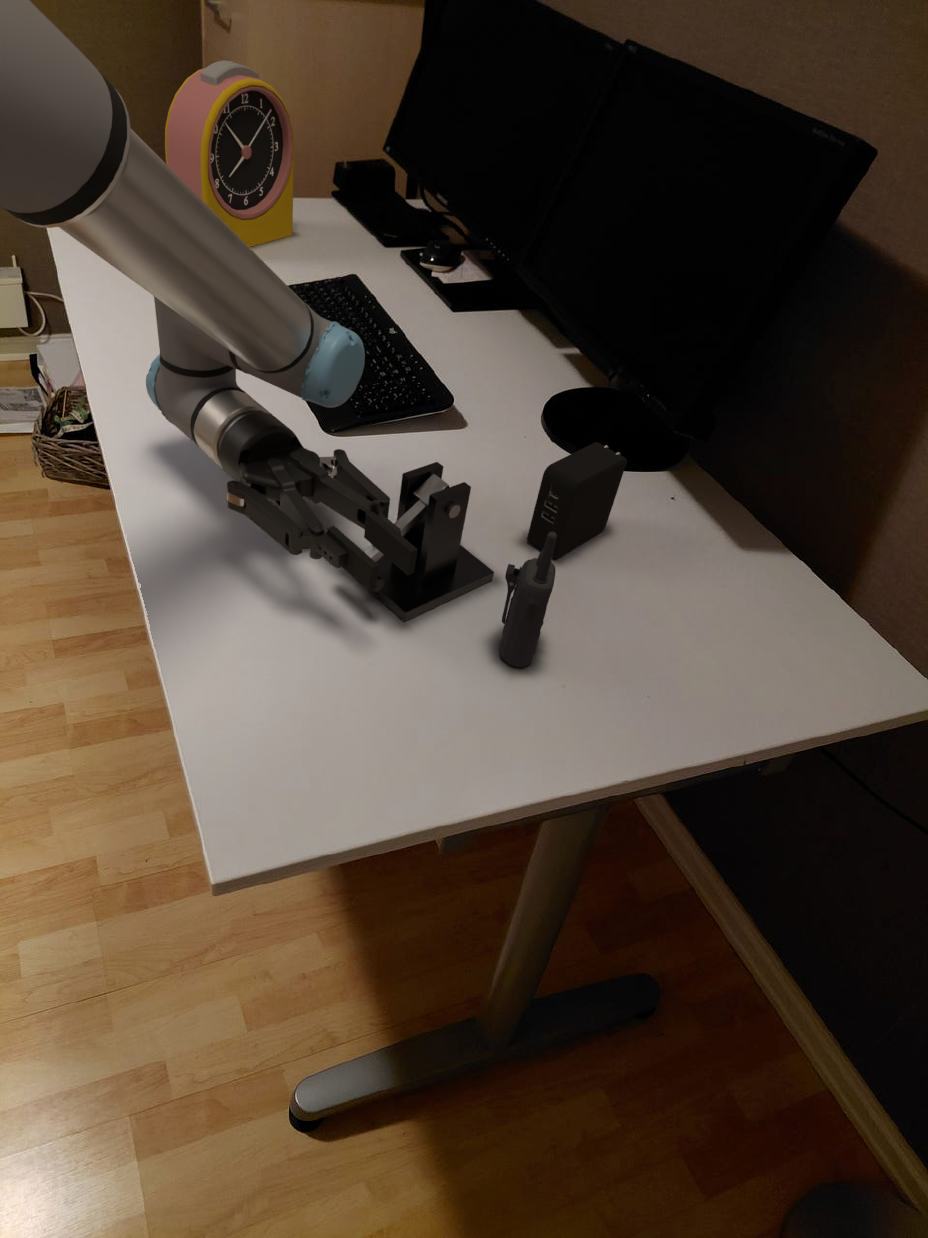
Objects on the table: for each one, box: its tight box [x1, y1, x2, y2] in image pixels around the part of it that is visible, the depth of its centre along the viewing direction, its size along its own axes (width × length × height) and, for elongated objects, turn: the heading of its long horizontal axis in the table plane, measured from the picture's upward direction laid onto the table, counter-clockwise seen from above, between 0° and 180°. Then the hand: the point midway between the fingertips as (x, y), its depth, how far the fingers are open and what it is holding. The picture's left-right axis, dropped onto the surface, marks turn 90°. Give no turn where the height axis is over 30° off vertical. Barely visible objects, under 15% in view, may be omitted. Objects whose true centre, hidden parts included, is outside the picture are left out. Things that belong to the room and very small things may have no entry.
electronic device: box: [526, 441, 628, 560], centre depth 93 cm, size 4×10×10 cm, turn 137°
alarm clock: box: [164, 59, 295, 248], centre depth 140 cm, size 21×9×26 cm, turn 147°
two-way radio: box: [499, 532, 557, 668], centre depth 76 cm, size 6×4×15 cm
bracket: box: [371, 461, 495, 622], centre depth 83 cm, size 12×9×12 cm
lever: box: [364, 474, 450, 592], centre depth 80 cm, size 12×6×2 cm
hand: (393, 570), depth 74 cm, fingers open, 4 cm apart
